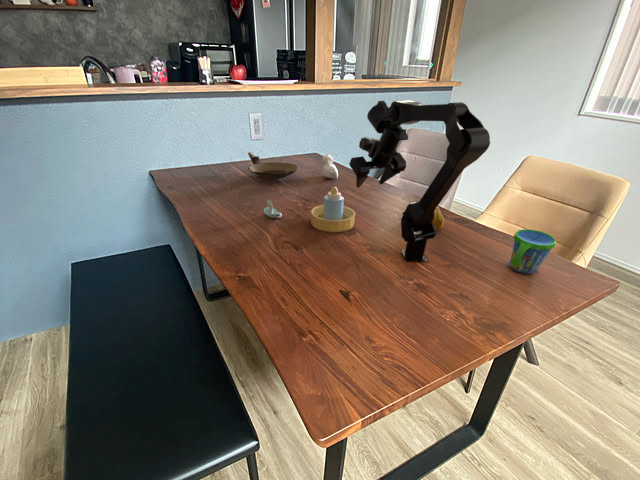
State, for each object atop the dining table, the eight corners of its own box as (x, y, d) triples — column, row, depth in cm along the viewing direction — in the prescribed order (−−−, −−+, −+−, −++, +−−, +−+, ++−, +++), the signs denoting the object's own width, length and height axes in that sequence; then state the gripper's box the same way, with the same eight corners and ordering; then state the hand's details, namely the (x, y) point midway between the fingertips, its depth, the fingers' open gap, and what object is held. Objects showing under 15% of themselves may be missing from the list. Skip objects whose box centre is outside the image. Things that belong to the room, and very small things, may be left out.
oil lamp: (258, 187, 158) (256, 169, 153) (241, 169, 179) (239, 152, 174) (305, 183, 165) (306, 165, 161) (283, 165, 187) (283, 149, 182)
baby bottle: (342, 226, 126) (345, 190, 118) (323, 226, 125) (325, 190, 118) (340, 219, 131) (343, 184, 124) (322, 219, 131) (324, 183, 123)
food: (443, 233, 126) (447, 216, 122) (426, 232, 126) (430, 215, 123) (434, 211, 143) (438, 196, 139) (420, 210, 143) (423, 195, 139)
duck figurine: (324, 178, 179) (312, 159, 171) (336, 167, 178) (324, 148, 170) (333, 185, 170) (320, 166, 163) (346, 174, 169) (333, 155, 161)
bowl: (356, 233, 123) (357, 221, 120) (311, 233, 122) (312, 220, 119) (351, 216, 135) (352, 204, 132) (310, 216, 134) (310, 204, 131)
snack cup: (524, 284, 101) (539, 250, 94) (491, 268, 107) (502, 235, 101) (553, 269, 108) (568, 237, 102) (520, 255, 115) (533, 224, 109)
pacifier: (277, 212, 137) (262, 213, 134) (277, 195, 133) (262, 196, 131) (284, 219, 131) (269, 220, 129) (285, 202, 128) (268, 203, 125)
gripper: (399, 124, 114) (379, 165, 127) (349, 127, 106) (334, 171, 120) (417, 148, 110) (395, 188, 124) (367, 153, 103) (349, 195, 116)
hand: (368, 185), depth 121 cm, fingers open, 9 cm apart
